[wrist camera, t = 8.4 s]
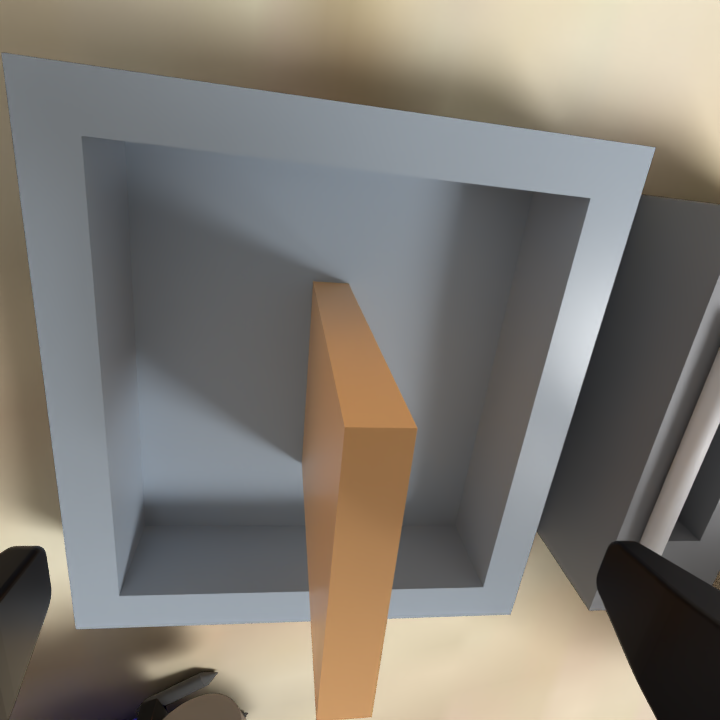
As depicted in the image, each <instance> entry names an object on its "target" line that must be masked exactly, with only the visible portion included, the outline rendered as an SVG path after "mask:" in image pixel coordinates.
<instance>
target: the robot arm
mask: <svg viewBox="0 0 720 720" xmlns="http://www.w3.org/2000/svg"><path fill="white" fill-rule="evenodd" d="M596 586H597V590H598V593H599V595H600V598H601V600H602V602H603V605H604V607H605V609H606V612H607V614H608V616H609V619H610V621H611V623H612V626H613V628H614V630H615V633H616V635H617V637H618V639H619V642H620V644H621V646H622V649H623V651H624V653H625V656H626V658H627V660H628V663H629V665H630V667H631V669H632V672H633V674H634V676H635V678H636V680H637V682H638V684H639V686H640V688H641V690H642V692H643V694H644V696H645V698H646V700H647V702H648V704H649V706H650V708H651V709H652V711H653V713H654V715H655V717H656V719H657V720H720V590H718V589H717V588H715V587H713V586H712V585H710V584H708V583H706V582H705V581H703V580H701V579H700V578H698V577H696V576H695V575H693V574H691V573H689V572H688V571H686V570H684V569H683V568H681V567H679V566H678V565H676V564H674V563H672V562H671V561H669V560H667V559H666V558H664V557H662V556H661V555H659V554H657V553H656V552H654V551H652V550H650V549H649V548H647V547H645V546H644V545H642V544H640V543H638V542H636V541H613V542H611V543H610V544H609V545H608V547H607V549H606V552H605V554H604V557H603V560H602V562H601V565H600V567H599V570H598V573H597V576H596ZM50 599H51V583H50V576H49V570H48V563H47V556H46V552H45V550H44V549H43V548H42V547H40V546H14V547H10V548H8V549H6V550H4V551H3V552H1V553H0V720H9V718H10V715H11V712H12V710H13V707H14V704H15V702H16V699H17V696H18V693H19V690H20V687H21V685H22V682H23V679H24V676H25V673H26V670H27V667H28V665H29V662H30V659H31V656H32V653H33V650H34V647H35V645H36V642H37V639H38V636H39V633H40V630H41V627H42V625H43V622H44V619H45V616H46V613H47V610H48V607H49V604H50Z"/></svg>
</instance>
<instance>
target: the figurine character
mask: <svg viewBox="0 0 720 720" xmlns="http://www.w3.org/2000/svg"><path fill="white" fill-rule="evenodd" d="M217 673H218V672H201V673H199V674H197V675H195V676H192V677H190V678H188V679H186V680H184V681H182V682H180V683H178V684H176V685H174V686H172V687H170V688H168V689H165V690H163V691H161V692H159V693H157V694H155V695H153V696H151V697H149V698H147V699H145V700H144V702H143V703H141V705H140V707H139V708H138V709H137V711H136V712H139V713H138V717H137V718H135V719H133V720H246V718H245V717H246V716H247V714H248V713H244V712H241V711H240V709H239V708H238V706H237V705H236V703H235V702H234V701H233V700H232V699H231V698H229V697H227V696H225V695H222V694H205V695H201V696H198V697H195V698H193V699H191V700H189V701H187V702H185V703H183V704H182V705H180V706H178V707H177V708H176V709H174V710H173V711H172V712H171V713H168V712H167V711H166V705H168V704H170V703H172V702H174V701H176V700H178V699H181V698H183V697H185V696H187V695H189V694H191V693H193V692H195V691H197V690H199V689H201V688H203V687H205V686H207V685H209V683H210V682H211V681H212V680H213V678H214V677H215V676H216V675H217Z"/></svg>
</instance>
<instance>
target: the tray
mask: <svg viewBox="0 0 720 720" xmlns="http://www.w3.org/2000/svg"><path fill="white" fill-rule="evenodd" d="M1 53H2V52H1ZM2 61H3V69H4V77H5V84H6V92H7V100H8V108H9V115H10V123H11V131H12V139H13V146H14V154H15V162H16V170H17V177H18V185H19V193H20V201H21V208H22V216H23V224H24V232H25V239H26V247H27V255H28V263H29V270H30V278H31V286H32V294H33V301H34V309H35V317H36V325H37V332H38V340H39V348H40V356H41V363H42V371H43V379H44V387H45V394H46V402H47V410H48V418H49V425H50V433H51V441H52V449H53V456H54V464H55V472H56V480H57V487H58V495H59V503H60V511H61V518H62V526H63V534H64V542H65V549H66V557H67V565H68V573H69V580H70V588H71V596H72V604H73V611H74V619H75V627H76V629H99V628H128V627H158V626H187V625H216V624H245V623H275V622H304V621H311V617H310V600H309V582H308V564H307V546H306V529H305V511H304V493H303V476H302V452H303V436H304V420H305V404H306V388H307V371H308V355H309V339H310V323H311V307H312V290H313V281H316V282H332V283H349V285H350V287H351V290H352V292H353V294H354V296H355V298H356V300H357V302H358V304H359V306H360V308H361V311H362V313H363V315H364V317H365V319H366V321H367V323H368V325H369V327H370V329H371V332H372V334H373V336H374V338H375V340H376V342H377V344H378V346H379V348H380V350H381V353H382V355H383V357H384V359H385V361H386V363H387V365H388V367H389V369H390V371H391V374H392V376H393V378H394V380H395V382H396V384H397V386H398V388H399V390H400V392H401V395H402V397H403V399H404V401H405V403H406V405H407V407H408V409H409V411H410V413H411V415H412V418H413V420H414V422H415V424H416V426H417V428H418V429H417V435H416V441H415V447H414V454H413V460H412V466H411V473H410V479H409V485H408V491H407V498H406V504H405V510H404V517H403V523H402V529H401V536H400V542H399V548H398V554H397V561H396V567H395V573H394V580H393V586H392V592H391V598H390V605H389V611H388V617H387V619H392V618H421V617H450V616H480V615H509V614H511V611H512V608H513V605H514V602H515V598H516V595H517V592H518V589H519V586H520V582H521V579H522V576H523V573H524V569H525V566H526V563H527V560H528V557H529V553H530V550H531V547H532V544H533V541H534V537H535V534H536V531H537V528H538V524H539V521H540V518H541V515H542V512H543V508H544V505H545V502H546V499H547V496H548V492H549V489H550V486H551V483H552V479H553V476H554V473H555V470H556V467H557V463H558V460H559V457H560V454H561V451H562V447H563V444H564V441H565V438H566V434H567V431H568V428H569V425H570V422H571V418H572V415H573V412H574V409H575V406H576V402H577V399H578V396H579V393H580V390H581V386H582V383H583V380H584V377H585V373H586V370H587V367H588V364H589V361H590V357H591V354H592V351H593V348H594V345H595V341H596V338H597V335H598V332H599V328H600V325H601V322H602V319H603V316H604V312H605V309H606V306H607V303H608V300H609V296H610V293H611V290H612V287H613V283H614V280H615V277H616V274H617V271H618V267H619V264H620V261H621V258H622V255H623V251H624V248H625V245H626V242H627V238H628V235H629V232H630V229H631V226H632V222H633V219H634V216H635V213H636V210H637V206H638V203H639V200H640V197H641V193H642V190H643V187H644V184H645V181H646V177H647V174H648V171H649V168H650V165H651V161H652V158H653V155H654V152H655V148H656V147H649V146H642V145H635V144H628V143H621V142H615V141H608V140H601V139H594V138H587V137H580V136H573V135H566V134H560V133H553V132H546V131H539V130H532V129H525V128H518V127H511V126H504V125H498V124H491V123H484V122H477V121H470V120H463V119H456V118H449V117H443V116H436V115H429V114H422V113H415V112H408V111H401V110H394V109H387V108H381V107H374V106H367V105H360V104H353V103H346V102H339V101H332V100H326V99H319V98H312V97H305V96H298V95H291V94H284V93H277V92H270V91H264V90H257V89H250V88H243V87H236V86H229V85H222V84H215V83H209V82H202V81H195V80H188V79H181V78H174V77H167V76H160V75H154V74H147V73H140V72H133V71H126V70H119V69H112V68H105V67H98V66H92V65H85V64H78V63H71V62H64V61H57V60H50V59H43V58H37V57H30V56H23V55H16V54H9V53H2Z"/></svg>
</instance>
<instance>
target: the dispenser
mask: <svg viewBox="0 0 720 720" xmlns="http://www.w3.org/2000/svg"><path fill="white" fill-rule="evenodd" d="M537 532H538V534H539V535H540V537H541V538H542V540H543V541H544V543H545V545H546V546H547V548H548V549H549V551H550V552H551V554H552V555H553V557H554V558H555V560H556V561H557V563H558V564H559V566H560V567H561V569H562V570H563V572H564V573H565V575H566V576H567V578H568V579H569V581H570V582H571V584H572V585H573V587H574V588H575V590H576V592H577V593H578V595H579V596H580V598H581V599H582V601H583V602H584V604H585V605H586V607H587V608H588V610H589V611H592V610H606V609H605V607H604V605H603V602H602V600H601V598H600V595H599V593H598V590H597V586H596V576H597V573H598V570H599V567H600V565H601V562H602V560H603V557H604V554H605V552H606V549H607V547H608V545H609V544H610V543H611V542H613V541H636V542H638V543H640V544H642V545H644V546H645V547H647V548H649V549H650V550H652V551H654V552H656V553H657V554H659V555H661V556H662V557H664V558H666V559H667V560H669V561H671V562H672V563H674V564H676V565H678V566H679V567H681V568H683V569H684V570H686V571H688V572H689V573H691V574H693V575H695V576H696V577H698V578H700V579H701V580H703V581H705V582H706V583H708V584H710V585H713V583H714V581H715V579H716V577H717V575H718V573H719V571H720V204H712V203H704V202H696V201H688V200H680V199H672V198H664V197H657V196H649V195H641V197H640V200H639V203H638V206H637V210H636V213H635V216H634V219H633V222H632V226H631V229H630V232H629V235H628V238H627V242H626V245H625V248H624V251H623V255H622V258H621V261H620V264H619V267H618V271H617V274H616V277H615V280H614V283H613V287H612V290H611V293H610V296H609V300H608V303H607V306H606V309H605V312H604V316H603V319H602V322H601V325H600V328H599V332H598V335H597V338H596V341H595V345H594V348H593V351H592V354H591V357H590V361H589V364H588V367H587V370H586V373H585V377H584V380H583V383H582V386H581V390H580V393H579V396H578V399H577V402H576V406H575V409H574V412H573V415H572V418H571V422H570V425H569V428H568V431H567V434H566V438H565V441H564V444H563V447H562V451H561V454H560V457H559V460H558V463H557V467H556V470H555V473H554V476H553V479H552V483H551V486H550V489H549V492H548V496H547V499H546V502H545V505H544V508H543V512H542V515H541V518H540V521H539V524H538V528H537Z"/></svg>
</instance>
